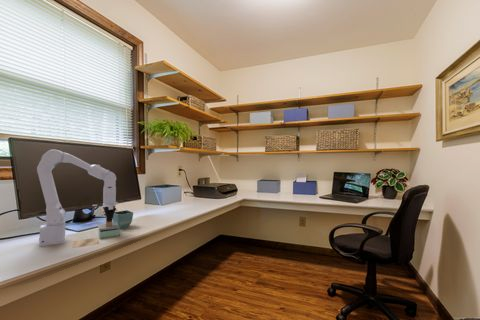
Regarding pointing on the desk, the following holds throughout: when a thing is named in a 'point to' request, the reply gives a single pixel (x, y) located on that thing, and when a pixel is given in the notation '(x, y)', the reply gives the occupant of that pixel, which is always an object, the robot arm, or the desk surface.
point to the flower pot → (123, 218)
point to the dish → (108, 233)
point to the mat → (85, 242)
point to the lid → (108, 226)
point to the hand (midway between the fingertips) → (109, 220)
